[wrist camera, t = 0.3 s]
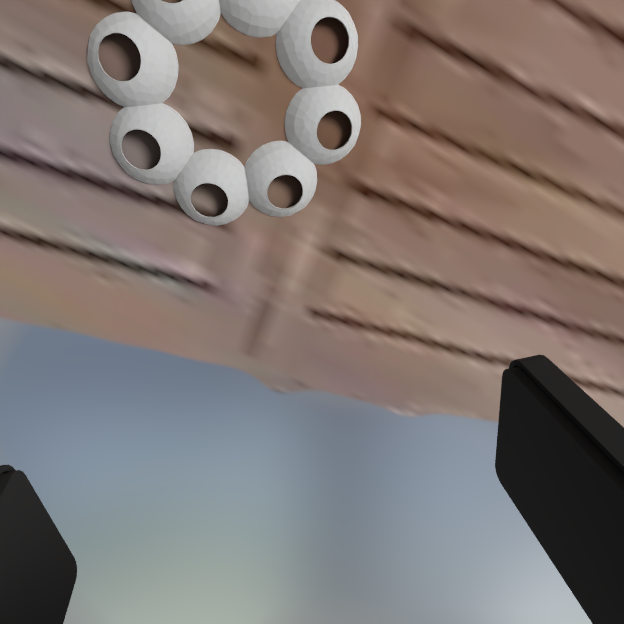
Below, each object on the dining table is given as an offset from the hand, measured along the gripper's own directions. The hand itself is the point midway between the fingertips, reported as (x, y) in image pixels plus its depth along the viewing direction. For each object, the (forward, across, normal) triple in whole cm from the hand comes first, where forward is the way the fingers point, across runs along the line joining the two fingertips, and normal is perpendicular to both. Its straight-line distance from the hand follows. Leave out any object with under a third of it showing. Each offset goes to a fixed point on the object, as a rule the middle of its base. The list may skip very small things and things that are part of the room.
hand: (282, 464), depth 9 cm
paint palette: (+32, 0, -5) cm, 32 cm away
